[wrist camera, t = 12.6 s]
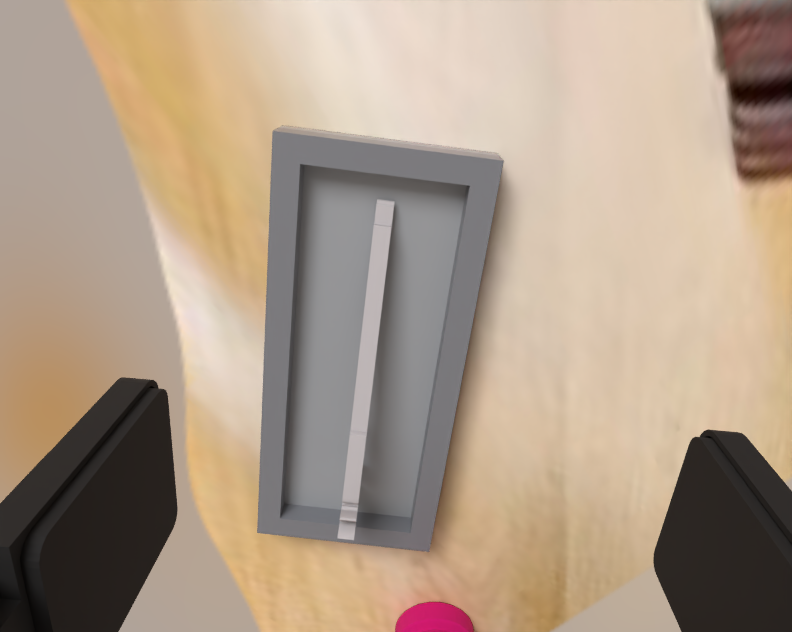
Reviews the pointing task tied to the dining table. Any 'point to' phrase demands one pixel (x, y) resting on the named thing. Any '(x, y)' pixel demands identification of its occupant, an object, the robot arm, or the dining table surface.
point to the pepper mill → (434, 619)
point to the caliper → (366, 366)
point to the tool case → (342, 326)
